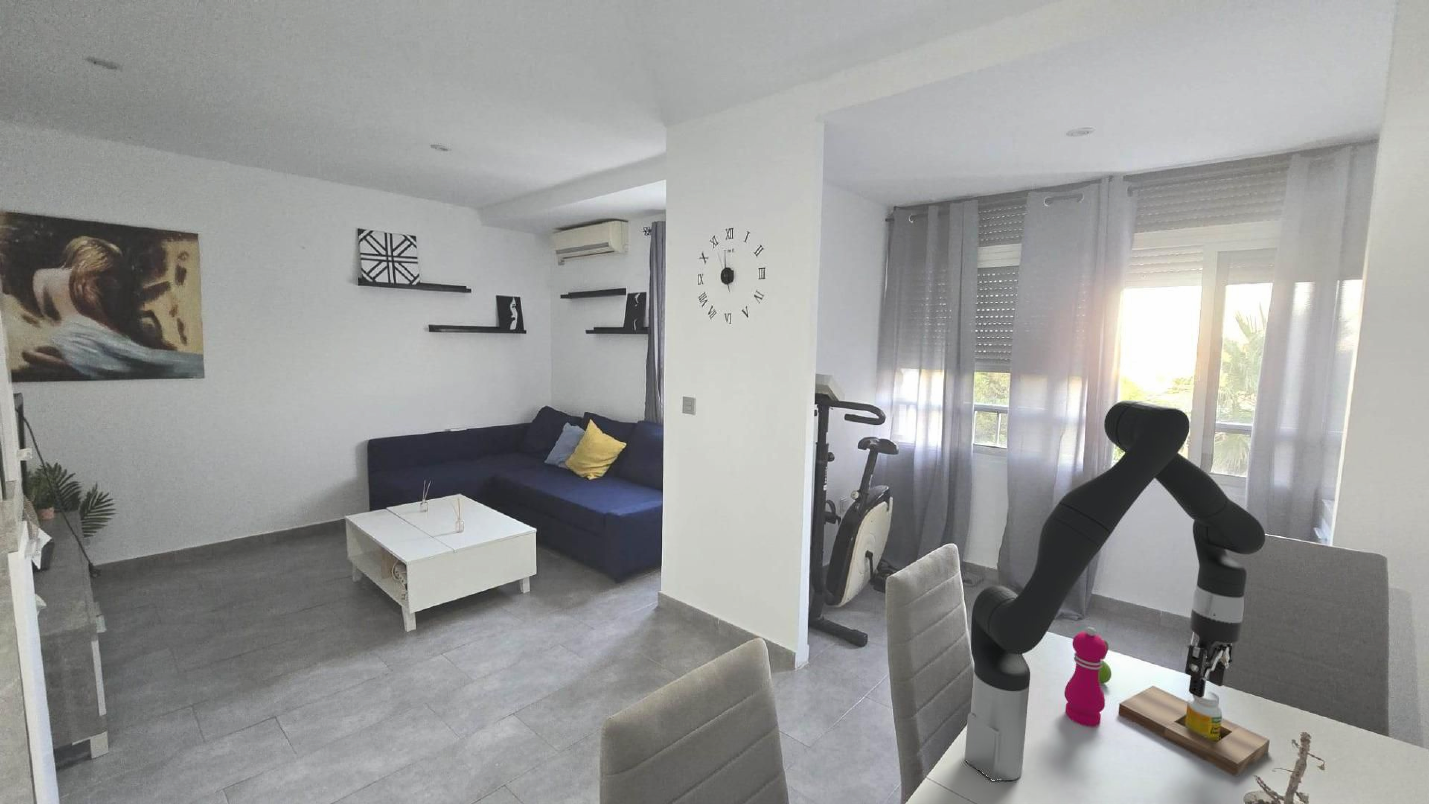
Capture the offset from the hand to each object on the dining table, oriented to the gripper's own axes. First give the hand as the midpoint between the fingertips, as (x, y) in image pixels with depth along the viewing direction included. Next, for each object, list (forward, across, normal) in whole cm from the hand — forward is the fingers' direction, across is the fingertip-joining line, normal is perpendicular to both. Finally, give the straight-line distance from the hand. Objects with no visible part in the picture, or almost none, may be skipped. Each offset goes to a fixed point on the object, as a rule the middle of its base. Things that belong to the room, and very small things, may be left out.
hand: (1206, 689), depth 117 cm
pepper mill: (+11, -15, +15) cm, 24 cm away
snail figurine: (+11, +1, +21) cm, 23 cm away
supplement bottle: (+11, 0, 0) cm, 11 cm away
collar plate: (+10, 0, +2) cm, 11 cm away
